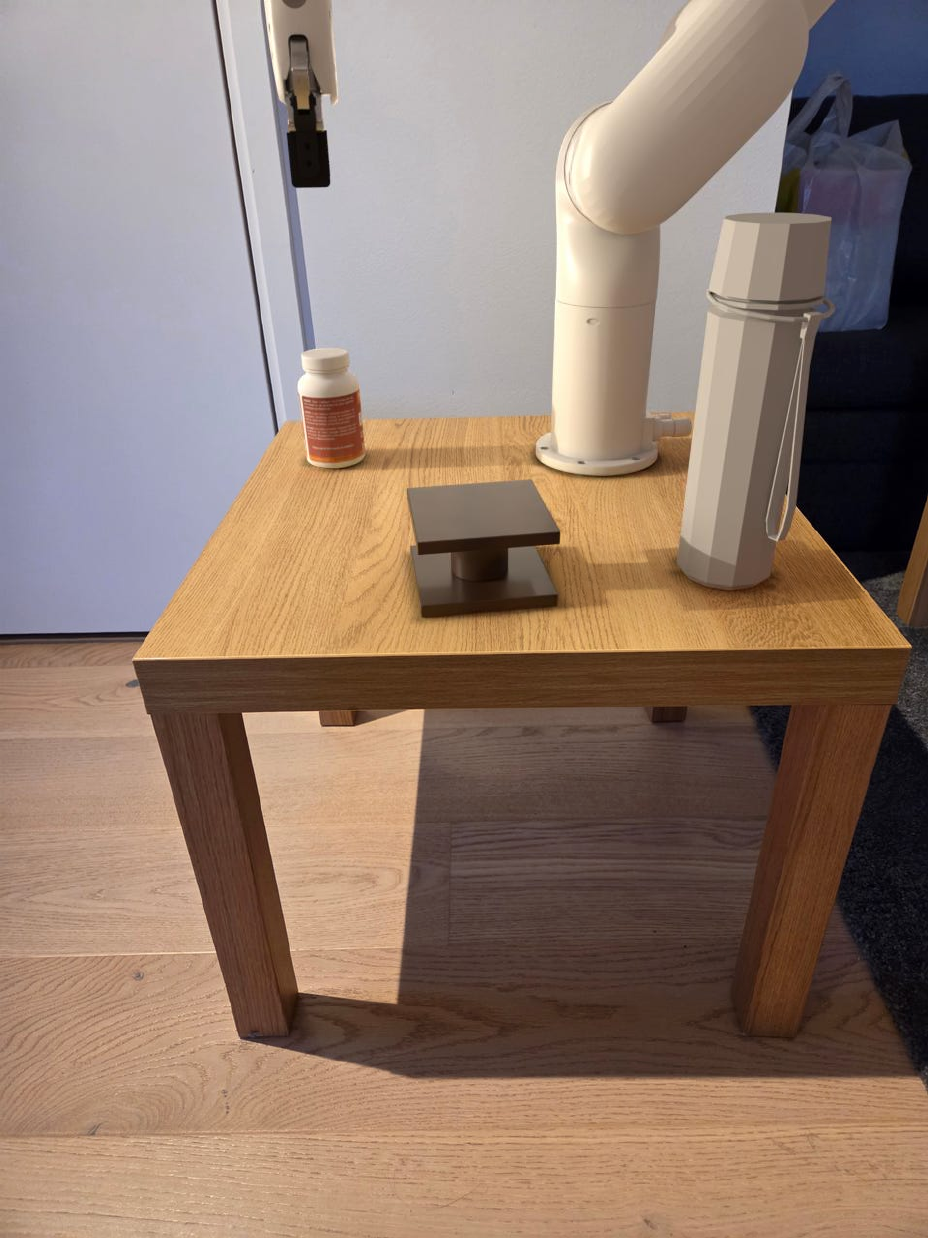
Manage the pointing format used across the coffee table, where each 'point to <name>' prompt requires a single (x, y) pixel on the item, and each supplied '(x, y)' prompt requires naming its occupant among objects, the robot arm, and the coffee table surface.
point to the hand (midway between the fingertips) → (312, 183)
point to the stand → (480, 547)
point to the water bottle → (752, 395)
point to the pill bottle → (330, 409)
